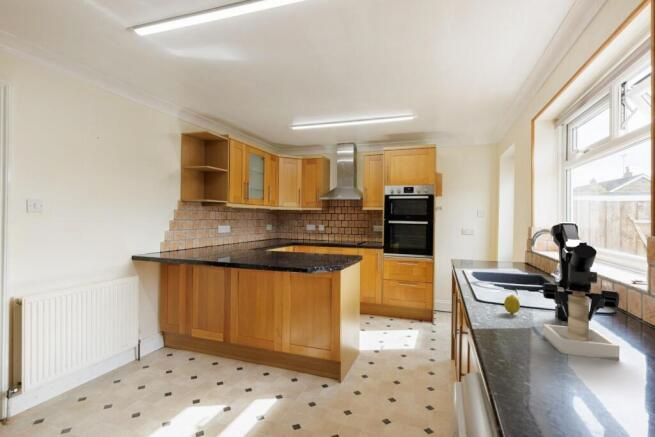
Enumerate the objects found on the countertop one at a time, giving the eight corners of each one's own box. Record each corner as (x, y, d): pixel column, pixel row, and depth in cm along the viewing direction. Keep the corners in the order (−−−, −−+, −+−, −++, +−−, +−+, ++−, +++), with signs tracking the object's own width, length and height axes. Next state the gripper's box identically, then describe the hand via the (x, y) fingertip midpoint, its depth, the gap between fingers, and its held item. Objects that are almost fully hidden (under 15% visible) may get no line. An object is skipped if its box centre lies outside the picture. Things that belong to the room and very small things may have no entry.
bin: (593, 341, 101) (593, 328, 101) (619, 360, 88) (619, 346, 88) (543, 335, 105) (543, 324, 105) (560, 353, 92) (560, 339, 92)
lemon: (521, 317, 125) (522, 297, 125) (506, 316, 126) (507, 296, 126) (516, 312, 131) (516, 293, 131) (502, 311, 132) (502, 293, 132)
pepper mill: (577, 334, 100) (578, 289, 99) (592, 341, 95) (593, 293, 94) (563, 335, 99) (564, 290, 99) (578, 341, 94) (578, 294, 94)
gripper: (543, 258, 105) (539, 298, 97) (619, 264, 94) (622, 310, 85) (545, 278, 112) (542, 317, 103) (616, 286, 100) (619, 330, 92)
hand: (578, 318), depth 96 cm, fingers closed on pepper mill, 5 cm apart
